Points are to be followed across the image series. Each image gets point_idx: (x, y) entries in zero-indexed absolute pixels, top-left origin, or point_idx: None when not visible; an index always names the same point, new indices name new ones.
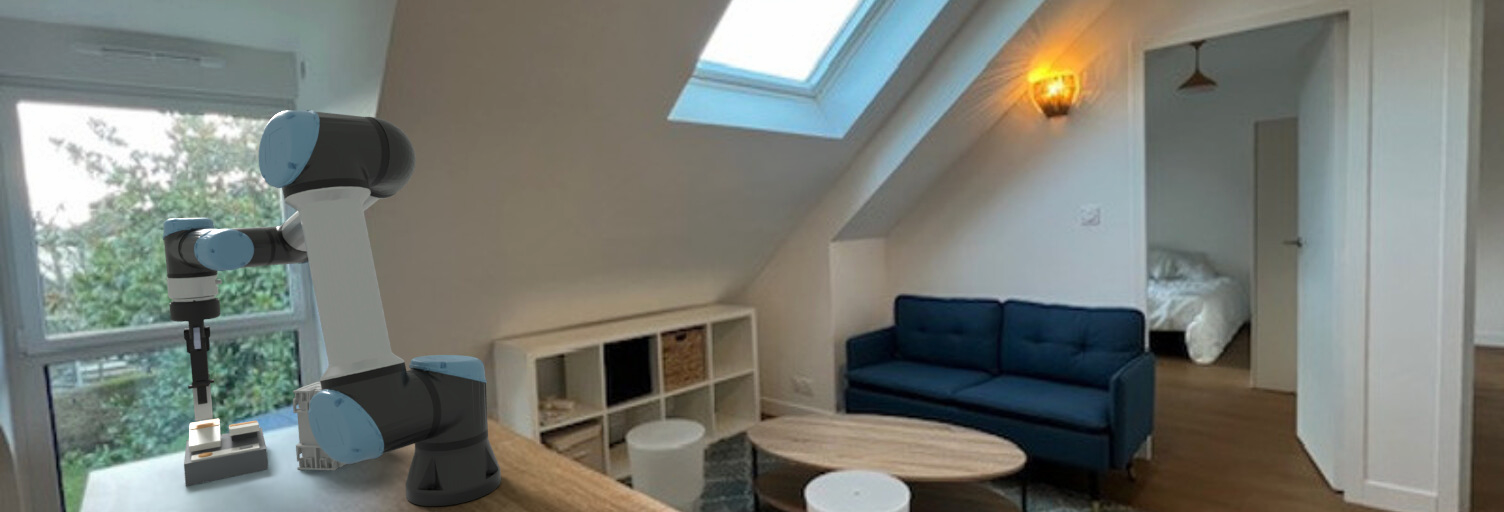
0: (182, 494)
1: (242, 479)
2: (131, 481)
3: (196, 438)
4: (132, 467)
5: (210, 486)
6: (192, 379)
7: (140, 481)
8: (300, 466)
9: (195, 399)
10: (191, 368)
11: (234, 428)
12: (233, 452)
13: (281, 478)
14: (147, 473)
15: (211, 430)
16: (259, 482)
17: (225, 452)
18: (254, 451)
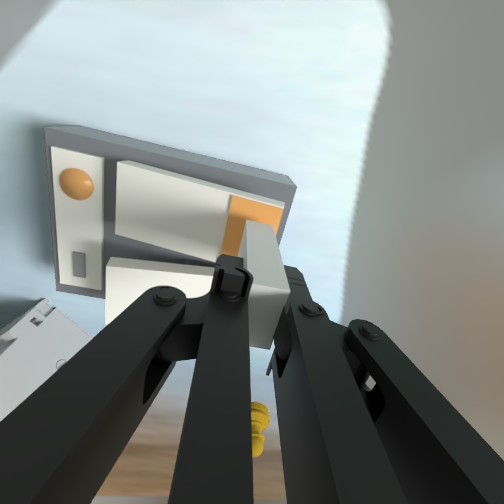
0: (18, 105)
1: (48, 219)
2: (226, 34)
3: (160, 192)
4: (355, 64)
5: (41, 164)
6: (121, 315)
7: (206, 52)
8: (37, 304)
9: (244, 259)
10: (37, 391)
11: (116, 278)
12: (57, 236)
13: (5, 267)
14: (264, 81)
15: (194, 237)
16: (4, 236)
17: (69, 223)
18: (55, 269)
